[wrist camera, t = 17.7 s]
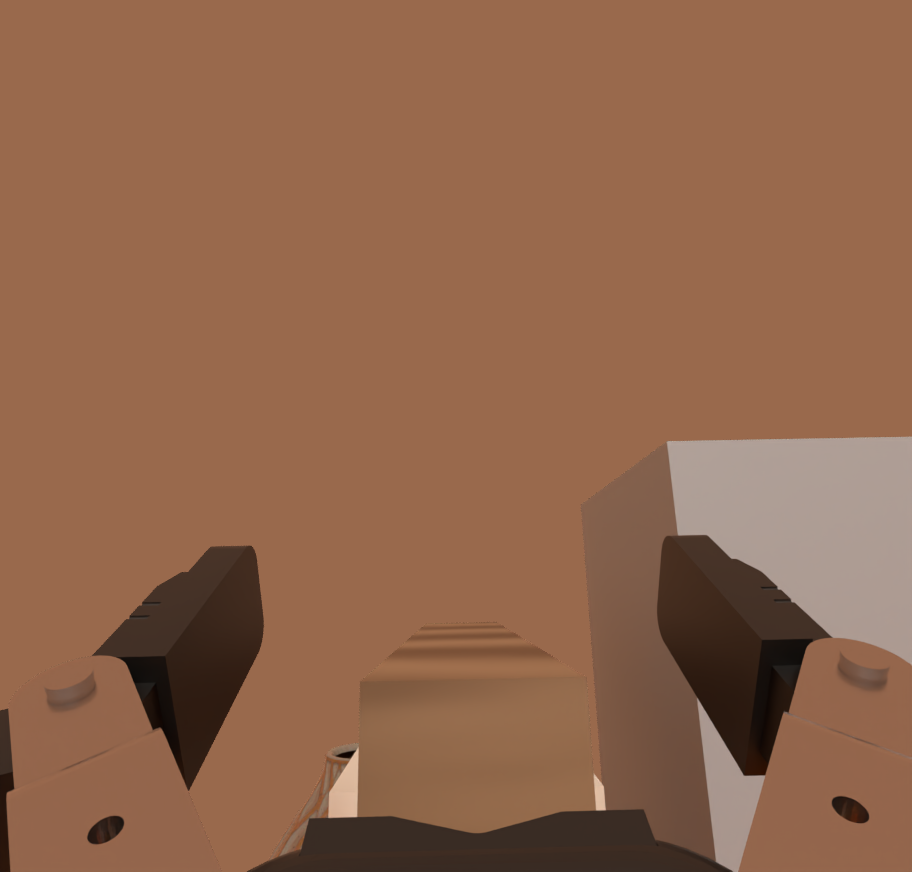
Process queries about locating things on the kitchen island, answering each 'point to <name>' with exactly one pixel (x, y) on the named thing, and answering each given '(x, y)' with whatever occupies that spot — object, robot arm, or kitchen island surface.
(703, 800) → the tall white pillar
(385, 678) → the walnut bar
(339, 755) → the vase
